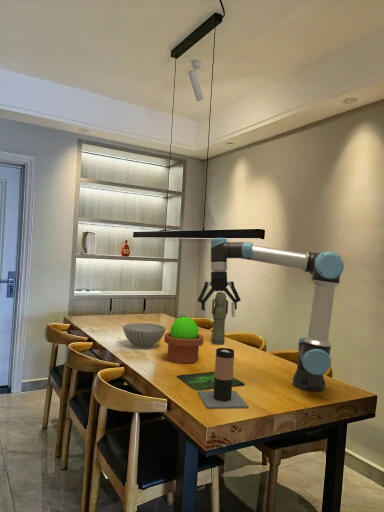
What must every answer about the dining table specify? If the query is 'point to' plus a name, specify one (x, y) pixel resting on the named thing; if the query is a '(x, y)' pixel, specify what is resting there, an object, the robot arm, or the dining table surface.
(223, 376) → the travel mug
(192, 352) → the potted cactus
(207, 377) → the mouse mat
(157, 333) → the decorative bowl
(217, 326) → the olive grey tall piece
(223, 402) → the rubber mat
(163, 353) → the dining table surface
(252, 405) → the dining table surface
